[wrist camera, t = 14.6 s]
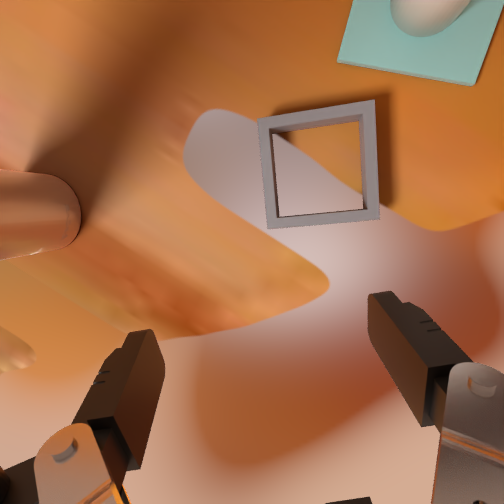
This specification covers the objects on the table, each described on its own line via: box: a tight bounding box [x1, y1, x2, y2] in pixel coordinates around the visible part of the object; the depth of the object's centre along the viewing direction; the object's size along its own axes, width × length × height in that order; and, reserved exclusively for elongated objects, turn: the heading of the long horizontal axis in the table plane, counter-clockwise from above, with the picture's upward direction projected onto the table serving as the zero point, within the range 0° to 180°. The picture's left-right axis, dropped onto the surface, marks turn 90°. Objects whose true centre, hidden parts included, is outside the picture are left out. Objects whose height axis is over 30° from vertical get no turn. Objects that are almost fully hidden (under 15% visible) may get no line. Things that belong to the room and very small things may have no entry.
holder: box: [257, 99, 380, 229], centre depth 29 cm, size 10×10×2 cm
